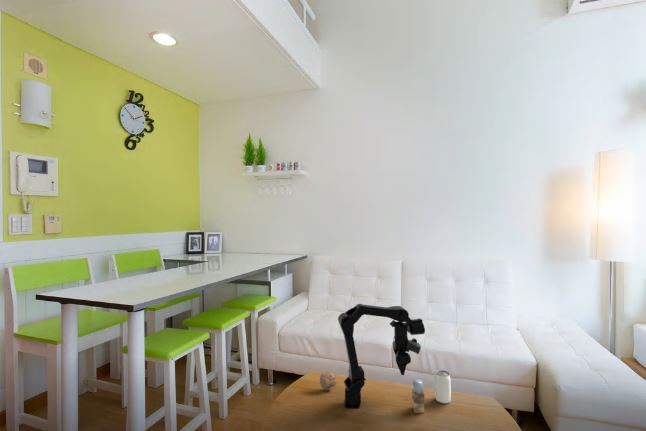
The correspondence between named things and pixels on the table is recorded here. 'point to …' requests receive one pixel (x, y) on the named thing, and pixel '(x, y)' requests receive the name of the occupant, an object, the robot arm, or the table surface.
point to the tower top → (418, 397)
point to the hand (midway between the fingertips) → (401, 370)
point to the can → (442, 387)
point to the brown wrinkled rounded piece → (327, 380)
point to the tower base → (418, 407)
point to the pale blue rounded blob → (418, 386)
